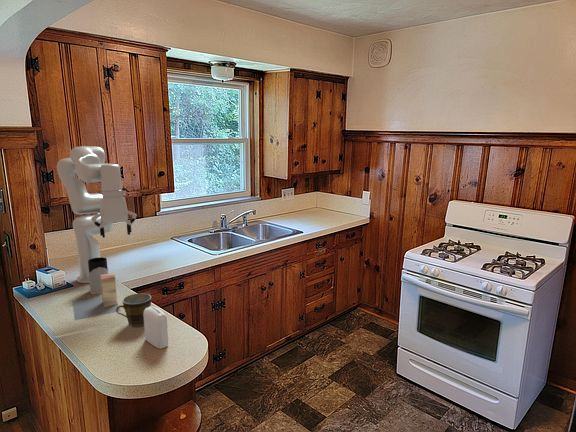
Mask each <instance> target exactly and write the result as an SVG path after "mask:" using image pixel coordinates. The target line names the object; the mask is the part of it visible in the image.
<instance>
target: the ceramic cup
mask: <svg viewBox="0 0 576 432" xmlns="http://www.w3.org/2000/svg"><path fill="white" fill-rule="evenodd" d="M151 305H152V296H151V294H149V293H143V292H141V293H133V294H130V295H127V296H125V297H124V298H123V299H122V304H121V305H119V306H118V307H117V309H116V312H115V313H117V314H118V315H121V316H123V317H125V318H126V319H127V323H128V326H129V327H131V328H132V329H133V328H142V327H144V316H143V313H144V310H145V309H146V308H148V307H152V306H151ZM119 308H120V309H121V308H123V309H124V311H125V314H124V313H121V312H120V311H119V312H118V309H119Z"/></svg>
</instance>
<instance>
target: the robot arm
mask: <svg viewBox="0 0 576 432" xmlns="http://www.w3.org/2000/svg"><path fill="white" fill-rule="evenodd" d="M120 167H121V166H120V165H119V164H116V163H115V164H114V163H106V152H105V151H104V149H103V148H102V147H100V146H95V145H94V146H93V145H91V146H87V145H85V146H83V145H81V146H76V147H73V148H72V149H71V150H70V151H69V157H65V158H62V159H60V160H58V162H57V164H56V172H57V174H58V175H57V176H58V178H59V180H60V181H61V182H62V184H63V187H65V190H66V193H67V194H66V195H67V196H68V201H69V205H70V208H71V211H72V212H73V213H74V214H76V215H81V216H78V217H76V218H74V219H73V221H72V230H73V232H74V236H75V237H74V238H75V241H76V242H75V243H76V250H77V260H78V269H79V276H78V277H76V282H77V283H80V284H90V282H89V272H88V271H89V267H88V260H90V259H93V258H100V257H101V251H100V249H101V248H100V242H99V241H98V240H97V239H96V238H95V237H94V236H95V235H99V234H100V237H101V236H102V238H103V239H104V238H106V235H105V234H106V233H109V232H111V231H112V230H113V229H114V224H115V223H121V222H122V223H123V222H125V223H126V233H127V235H128V236H131V233H132V225H133V223H134V222H135V221H136V219H137V216H138V214H137V213H135V212H133V211H130V210H128V207H127V202H126V198H125V197H124V195H127V191H126V190H123V186H122V175H121V168H120ZM85 183H89V184H90V183H91V184H92V183H100V186H101V193H98V192H97V193H89V192H88V190H87V186H86V184H85ZM87 214H90V215H87ZM129 215H130V216H132V218H131V219H130V220H129Z"/></svg>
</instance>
